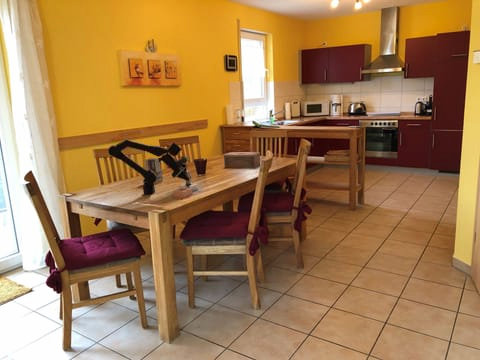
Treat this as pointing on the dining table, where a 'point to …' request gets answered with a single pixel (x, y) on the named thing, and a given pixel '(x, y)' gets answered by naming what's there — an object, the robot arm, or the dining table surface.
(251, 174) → the dining table surface
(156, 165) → the coffee box
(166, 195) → the tool board
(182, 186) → the socket block
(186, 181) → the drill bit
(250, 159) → the tissue box cover
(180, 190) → the rack block
